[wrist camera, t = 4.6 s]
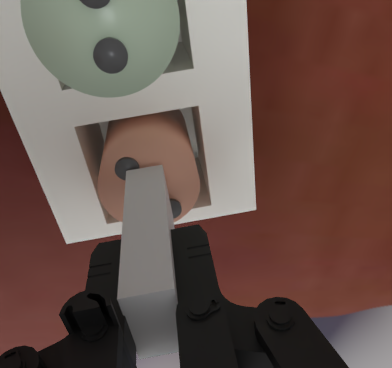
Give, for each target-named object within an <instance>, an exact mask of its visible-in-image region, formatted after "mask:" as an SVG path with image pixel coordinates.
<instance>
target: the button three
mask: <svg viewBox="0 0 392 368" xmlns="http://www.w3.org/2000/svg"><path fill="white" fill-rule="evenodd" d="M157 165H163V170H164V175H165V179H166V184H167V189H168V194H169V199H170V204H171V209H172V213H173V220H174V222H176V221H178V220H179V219H181V218H182V217H184V216H185V215H186V214H187V213H188V212H189V211H190V210H191V209H192V207H193V206H194V204H195V203H196V201H197V198H198V196H199V192H200V178H199V174H198V170H197V166H196V162H195V158H194V154H193V150H192V146H191V142H190V139H189V135H188V131H187V127H186V123H185V119H184V117H183V114H182V113H181V111H180V110H179V109H177V110H171V111H165V112H159V113H153V114H147V115H141V116H135V117H129V118H123V119H117V120H111V121H109V123H108V128H107V133H106V139H105V144H104V149H103V155H102V160H101V165H100V171H99V176H98V182H97V189H98V195H99V198H100V201H101V203H102V205H103V206H104V208H105V209H106V210H107V212H108V213H109V214H111V215H112V216H113V217H114V218H116V219H117V220H119V221H120V222H122V223H123V209H124V195H125V181H126V171H128V170H134V169H140V168H145V167H151V166H157Z"/></svg>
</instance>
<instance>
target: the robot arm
mask: <svg viewBox="0 0 392 368" xmlns="http://www.w3.org/2000/svg"><path fill="white" fill-rule="evenodd" d="M89 268H90V269H89V271H88V279H87V283H86V289H85V291H83V292H80V293H78V294H76V295H75V296H73V297H72V298H70V299H69V300H68V301H67V302H66V303H65V304H64V306H63V307H62V309H61V312H60V314H59V316H60V317H61V319H62V321H63V323H64V325H65V327H66V329H67V331H68V333H69V335H68V336H66V337H65V338H64V339H62V340H60V341H59V342H57V343H55V344H53V345H51V346H49V347H47V348H45V349H43V350H41V351H38V352H37V351H36V350H35V349H34V348H32V347H29V346H20V347H15V348H13V349H10V350H8V351H6V352H5V353H3V354H2V355H1V356H0V368H137V367H136V352H137V354H138V357H139V359H144V358H149V357H154V356H160V355H165V354H170V353H176V352H179V358H180V368H349V367H348V366H347V365H346V363H345V362H344V361H343V360H342V358H341V357H340V356H339V354H338V353H337V352H336V351H335V349H334V348H333V347H332V345H331V344H330V343H329V342H328V340H327V339H326V338H325V337H324V335H323V334H322V333H321V331H320V330H319V329H318V328H317V326H316V325H315V324H314V322H313V321H312V320H311V318H310V317H309V316H308V315H307V313H306V312H305V311H304V310H303V308H302V307H300V306H299V305H298V304H297V303H296V302H294V301H292V300H290V299H287V298H281V297H274V298H269V299H266V300H265V301H263V302H262V303H260V304H259V305H258V307H257V308H254V307H245V306H240V305H236V304H234V303H231V302H230V301H228V300H227V299H226V298H225V297H224V296H223V295H222V294H221V292H220V289H219V286H218V282H217V277H216V273H215V268H214V264H213V260H212V255H211V251H210V246H209V242H208V238H207V233H206V232H205V231H204V230H203V229H202V228H201V227H200V226H199V225H193V226H188V227H182V228H176V229H175V228H174V220H173V213H172V209H171V204H170V199H169V194H168V189H167V184H166V179H165V175H164V170H163V165H157V166H151V167H145V168H140V169H134V170H128V171H126V181H125V195H124V209H123V223H122V237H121V239H120V240H115V241H109V242H104V243H99V244H98V245H97V247H96V248H95V250H94V251H93V253H92V254H91V259H90V265H89Z"/></svg>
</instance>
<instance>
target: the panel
mask: <svg viewBox="0 0 392 368" xmlns="http://www.w3.org/2000/svg"><path fill="white" fill-rule="evenodd" d="M20 1H21V0H0V91H1V93H2V95H3V98H4V100H5V102H6V105H7V107H8V109H9V112H10V114H11V116H12V119H13V121H14V123H15V126H16V128H17V130H18V133H19V135H20V137H21V139H22V142H23V144H24V146H25V149H26V151H27V153H28V156H29V158H30V160H31V163H32V165H33V167H34V170H35V172H36V174H37V177H38V179H39V181H40V184H41V186H42V188H43V191H44V193H45V195H46V197H47V200H48V202H49V204H50V207H51V209H52V211H53V214H54V216H55V218H56V221H57V223H58V225H59V228H60V230H61V232H62V235H63V237H64V239H65V242H66V244H69V243H74V242H80V241H86V240H91V239H97V238H102V237H108V236H113V235H119V234H122V222H120V221H119V220H117V219H116V218H114V217H113V216H112V215H111V214H109V213H108V212H107V210H106V209H105V208H104V206H103V205H102V203H101V201H100V198H99V195H98V189H97V182H98V176H99V171H100V165H101V160H102V155H103V149H104V144H105V139H106V133H107V128H108V123H109V121H111V120H117V119H123V118H129V117H135V116H141V115H147V114H153V113H159V112H165V111H171V110H177V109H179V110H180V111H181V113H182V114H183V117H184V119H185V123H186V127H187V131H188V135H189V139H190V142H191V146H192V150H193V154H194V158H195V162H196V166H197V170H198V174H199V178H200V192H199V196H198V198H197V201H196V203H195V204H194V206H193V207H192V209H191V210H190V211H189V212H188V213H187V214H186V215H185V216H184V217H182V218H181V219H179V220H178V221H176V222H174V225H175V224H180V223H186V222H191V221H197V220H202V219H208V218H213V217H219V216H225V215H230V214H236V213H241V212H247V211H252V210H256V196H255V175H254V154H253V132H252V111H251V90H250V68H249V47H248V25H247V4H246V0H177V3H178V8H179V15H180V32H179V38H178V43H177V47H176V50H175V53H174V55H173V57H172V60H171V62H170V63H169V65H168V66H167V68H166V69H165V71H164V72H163V73H162V74H161V76H160V77H159V78H158V79H156V80H155V81H154V82H153V83H152V84H150V85H149V86H148V87H146V88H144V89H142V90H140V91H139V92H136V93H133V94H131V95H127V96H122V97H114V98H106V97H97V96H92V95H88V94H84V93H82V92H79V91H77V90H75V89H73V88H71V87H69V86H67V85H66V84H64V83H63V82H61V81H60V80H58V79H57V78H56V77H55V76H54V75H52V74H51V73H50V72H49V71H48V70H47V69H46V67H45V66H44V65H43V64H42V63H41V61H40V60H39V59H38V57H37V56H36V54H35V53H34V51H33V49H32V47H31V46H30V43H29V41H28V39H27V36H26V33H25V30H24V27H23V22H22V17H21V3H20Z"/></svg>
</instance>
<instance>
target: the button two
mask: <svg viewBox="0 0 392 368" xmlns="http://www.w3.org/2000/svg"><path fill="white" fill-rule="evenodd" d="M20 3H21V17H22V22H23V27H24V30H25V33H26V36H27V39H28V41H29V43H30V46H31V47H32V49H33V51H34V53H35V54H36V56H37V57H38V59H39V60H40V61H41V63H42V64H43V65H44V66H45V67H46V69H47V70H48V71H49V72H50V73H51V74H52V75H54V76H55V77H56V78H57V79H58V80H60V81H61V82H63V83H64V84H66V85H67V86H69V87H71V88H73V89H75V90H77V91H79V92H82V93H84V94H88V95H92V96H97V97H106V98H114V97H122V96H127V95H131V94H133V93H136V92H139V91H140V90H142V89H144V88H146V87H148V86H149V85H150V84H152V83H153V82H154V81H155V80H156V79H158V78H159V77H160V76H161V74H162V73H163V72H164V71H165V69H166V68H167V66H168V65H169V63H170V62H171V60H172V57H173V55H174V53H175V50H176V47H177V43H178V38H179V32H180V15H179V8H178V3H177V0H21V1H20Z"/></svg>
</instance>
